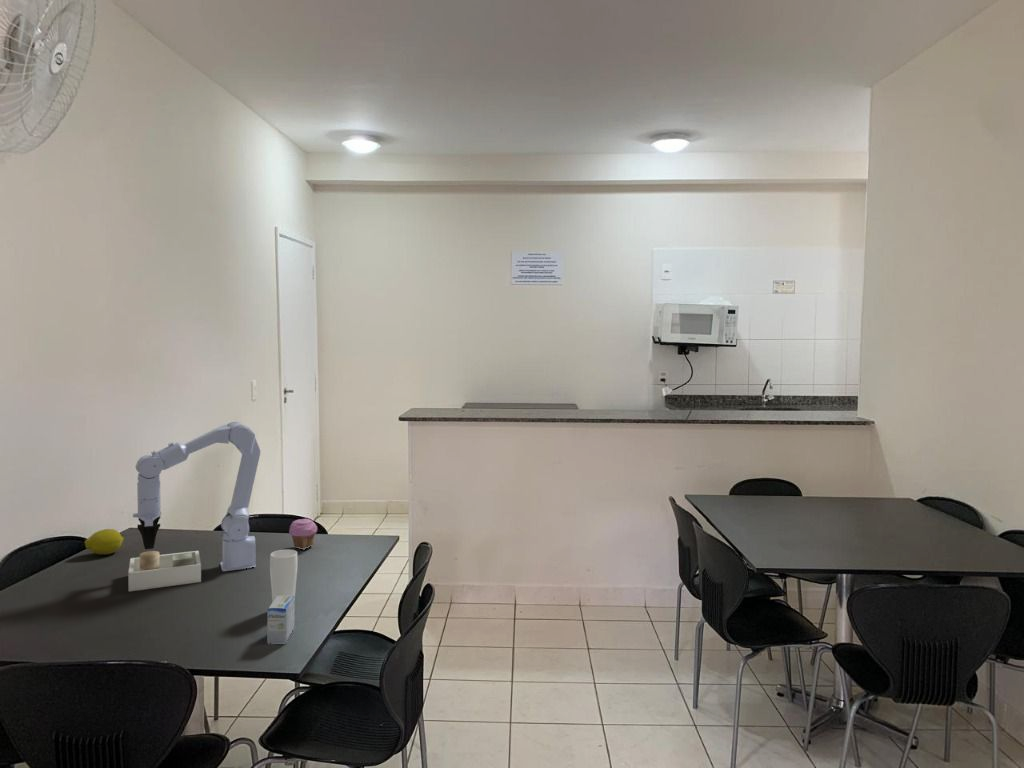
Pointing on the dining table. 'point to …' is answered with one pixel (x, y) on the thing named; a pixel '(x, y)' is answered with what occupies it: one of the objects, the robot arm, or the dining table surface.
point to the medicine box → (281, 619)
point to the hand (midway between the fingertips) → (149, 544)
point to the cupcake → (303, 532)
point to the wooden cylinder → (149, 560)
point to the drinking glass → (283, 572)
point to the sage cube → (182, 560)
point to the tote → (164, 573)
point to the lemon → (104, 542)
